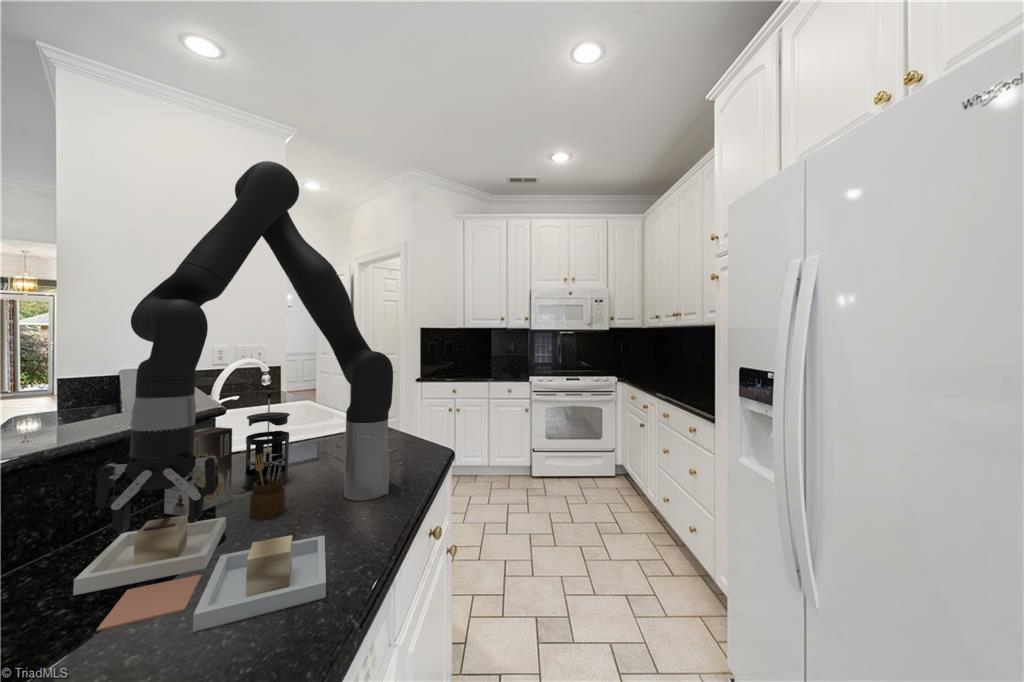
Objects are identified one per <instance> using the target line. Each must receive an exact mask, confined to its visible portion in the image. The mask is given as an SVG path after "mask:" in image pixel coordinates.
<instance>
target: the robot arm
mask: <svg viewBox="0 0 1024 682" xmlns="http://www.w3.org/2000/svg"><path fill="white" fill-rule="evenodd" d="M234 194H235V195H234V196H235V198H236V201H235V202H234V203H233V205H232V206H231V207H230V209H229V210H228V211H227V212H226V213H225V214H224V215H223V216H222V217H221V219H220V220H219V221H218V222H217V223H216V224H215V225H214V226H213V227H211V229H210V230H209V231H207V232H206V234H204V235H203V237H202V238H201V239H200V240H199V241H197V243H196V244H195V245H194V247H193V248H192V249H191V250H190V252H189V253H188V254H187V255H186V256H185V257H184V258H183V260H182V261H181V263H179V264H178V267H176V269H175V270H174V272H173V273H172V274H171V275H170V276H169V277H167V278H166V279H164V280H163V281H162V282H161V283H159V284H158V285H157V286H156V287H155V288H154V289H152V290H151V291H150V292H149V293H148V294H147V295H146V296H144V297H143V298H142V299H141V300H140V302H138V303H137V305H136V307H135V308H134V310H133V311H132V313H131V317H130V327H131V329H132V331H133V332H134V334H135V335H136V336H138V337H139V338H140V339H142V340H144V341H147V342H151V343H152V347H151V351H150V355H149V358H148V359H147V358H146V359H145V360H143V361H142V362H140V364H139V365H138V366H137V370H136V377H135V378H136V379H135V395H134V396H135V397H134V402H133V406H132V411H131V418H130V426H131V428H130V446H129V462H128V463H125V464H124V463H123V464H122V463H121V464H119V463H117V462H110V463H109V464H106V465H103V466H102V468H100V469H99V471H98V477H97V478H98V479H97V486H96V493H95V499H94V506H95V507H96V508H98V509H99V508H109V509H110V510H112V520H111V521H112V522H111V529H112V530H113V531H116V535H121V534H122V533H126V532H127V531H128V530H129V528H130V525H131V523H130V521H131V509H132V508H131V505H132V504H131V503H129V502H130V500H131V499H132V498H134V497H135V495H137V493H138V492H139V491H140V490H145V491H146V492H149V491H155V490H158V489H161V490H163V489H164V490H165V489H170V488H173V487H174V486H177V487H178V488H179V489H180V490H181V491H183V492H185V493H186V494H188V495H189V496H190V497H191V498H192V500H191V501H190V513H189V516H188V523H195V522H197V521H198V519H200V518H201V517H202V516H203V513H204V510H203V506H204V496H206V495H210V494H213V493H214V492H215V490H216V489H217V488H218V457H217V455H211V456H210V457H205V458H196V457H195V455H194V437H195V430H196V414H197V411H196V410H197V407H196V395H195V394H196V369H197V366H198V364H199V361H200V359H201V356H202V353H203V350H204V347H205V343H206V340H207V336H208V328H209V327H208V326H209V325H208V320H207V316H206V314H205V312H204V310H203V308H202V306H204V304H205V303H207V302H210V301H213V300H215V299H218V298H219V297H220V296H221V295H222V294H223V292H225V290H226V289H227V287H228V286H229V284H230V283H231V282H232V280H233V279H234V277H235V276H236V274H238V273H237V272H239V270H240V269H241V267H242V266H243V264H244V263H245V261H246V260H247V258H248V256H250V254H251V252H252V251H253V249H254V248H255V246H256V245H257V243H258V242H259V240H260V239H261V237H262V238H263V240H264V242H266V244H267V246H269V248H270V249H271V251H272V253H273V255H274V257H275V259H276V260H277V262H278V264H279V265H280V267H281V269H282V270H283V272H284V274H285V275H286V277H287V279H288V280H289V282H290V284H291V286H292V287H293V289H294V291H295V293H296V294H297V296H298V298H299V300H300V301H301V303H302V304H303V306H304V308H305V309H306V311H307V312H308V314H309V316H310V317H311V319H312V320H313V322H314V324H316V326H317V328H318V329H319V331H320V332H321V333H322V335H323V336H324V338H325V339H326V341H327V342H328V343H329V346H330V348H331V350H332V351H333V354H334V356H335V358H336V362H338V365H339V367H340V370H341V371H342V372H341V373H342V374H343V376H344V379H346V382H347V383H348V384H349V385H350V386H351V397H350V398H351V399H350V404H349V406H348V407H347V408H346V411H345V414H346V415H345V447H344V449H345V450H344V451H345V455H344V456H345V457H344V459H345V460H344V487H343V488H344V495H343V496H344V497H345V499H347V500H350V501H354V502H355V501H356V502H362V501H370V500H374V499H377V498H381V497H382V496H385V495H386V496H387V495H389V481H390V478H389V476H390V453H389V450H388V449H389V448H388V444H389V443H388V442H389V441H388V440H389V439H388V438H389V414H390V413H389V411H390V409H391V407H392V403H393V390H394V389H393V387H394V367H393V364H392V362H391V359H390V358H389V357H388V356H387V355H386V354H385V353H382V352H379V351H376V350H375V351H374V350H372V349H371V347H370V346H369V344H368V343H367V341H366V340H365V338H364V337H363V335H362V333H361V332H360V330H359V328H358V325H357V322H356V318H355V315H354V309H353V306H352V302H351V299H350V296H349V293H348V291H347V289H346V287H345V285H344V283H343V281H342V280H341V278H340V276H339V274H338V273H337V270H336V269H335V268H334V266H333V264H331V262H330V261H329V260H327V258H326V257H324V256H323V255H322V254H321V253H319V251H317V250H316V249H315V248H314V247H313V246H312V245H310V244H309V243H308V242H307V241H306V240H305V239H304V237H303V236H302V235H301V233H300V231H299V230H298V229H297V227H296V224H295V223H294V221H293V219H292V217H291V215H290V213H289V210H290V209H292V208H293V206H295V204H296V203H297V201H298V199H299V196H300V187H299V183H298V180H297V178H296V177H295V175H294V173H292V171H290V170H289V169H288V168H287V167H285V166H284V165H283V164H280V163H279V162H276V161H271V160H270V161H269V160H266V161H265V160H264V161H258V162H257V163H255V164H253V165H252V166H250V167H249V168H248V169H247V170H245V172H244V173H243V174H242V175H241V176H240V177H239V178H238V179H237V181H236V182H235V186H234ZM195 466H199V467H200V469H201V471H205V485H206V486H205V487H202V486H201V485H200V484H199V483H198V482H197V480H196V478H195V477H194V476H193V475H192V474H191V473H190V471H191V470H192V469H193V468H194V467H195ZM123 473H125V474H126V475H127V476H128V477H129V479H131V481H133V482H132V483H131V484H130V485H129V486H128V487H126V489H125V490H124V491H123V492H122V493H121V495H119V496H118V495H115V492H116V485H117V484H116V483H117V479H119V478H120V477H121V476H122V475H123Z"/></svg>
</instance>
